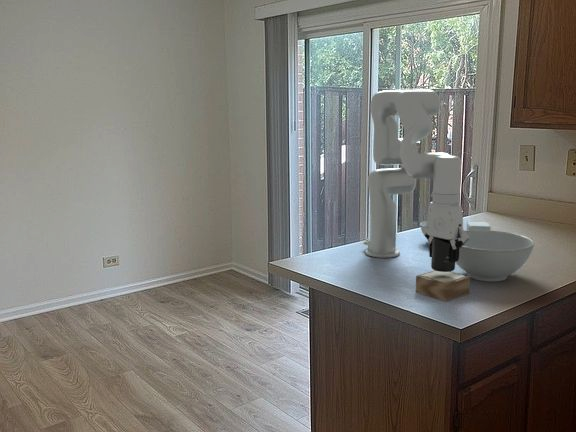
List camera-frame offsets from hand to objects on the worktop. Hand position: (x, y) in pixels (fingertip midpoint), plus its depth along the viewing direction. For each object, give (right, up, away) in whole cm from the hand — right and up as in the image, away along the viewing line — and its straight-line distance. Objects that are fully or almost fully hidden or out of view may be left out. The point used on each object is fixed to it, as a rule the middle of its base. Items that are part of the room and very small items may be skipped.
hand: (443, 258), depth 168 cm
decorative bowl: (+19, -7, +17) cm, 26 cm away
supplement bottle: (0, -3, +1) cm, 3 cm away
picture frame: (0, -10, +2) cm, 10 cm away
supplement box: (+22, -3, +37) cm, 43 cm away
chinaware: (+14, +1, +58) cm, 60 cm away
